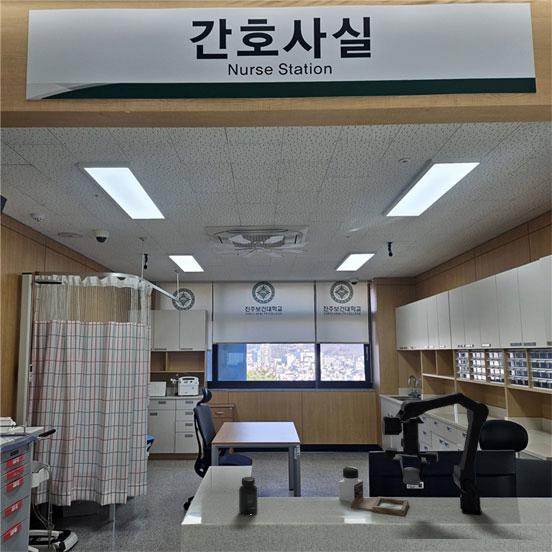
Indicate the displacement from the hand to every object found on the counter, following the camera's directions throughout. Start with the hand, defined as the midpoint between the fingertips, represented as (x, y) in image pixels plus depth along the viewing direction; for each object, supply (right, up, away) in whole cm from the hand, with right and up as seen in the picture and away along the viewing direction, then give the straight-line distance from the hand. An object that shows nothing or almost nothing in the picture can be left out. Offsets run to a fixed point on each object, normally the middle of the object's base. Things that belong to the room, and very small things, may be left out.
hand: (411, 479), depth 179 cm
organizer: (-11, -12, +4) cm, 17 cm away
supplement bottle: (-60, -12, 0) cm, 61 cm away
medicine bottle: (-20, -14, +13) cm, 28 cm away
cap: (0, -1, 0) cm, 1 cm away
